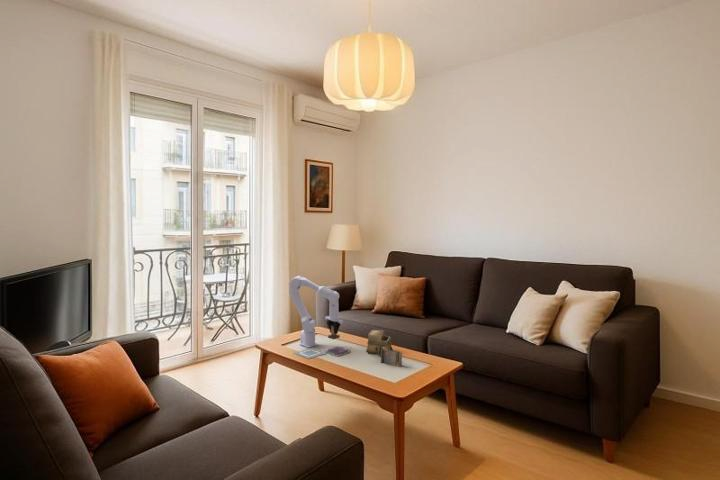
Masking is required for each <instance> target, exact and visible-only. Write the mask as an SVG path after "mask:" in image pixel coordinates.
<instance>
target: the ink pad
mask: <svg viewBox="0 0 720 480" xmlns="http://www.w3.org/2000/svg"><path fill="white" fill-rule="evenodd" d="M351 352H352V351H351V350H349V349H346V348H344V347H340V346H336V347H331V348H329V349H326V350H324V353H326V354H328V355H332V356H333V357H340V356H343V355H347V354H350V353H351Z"/></svg>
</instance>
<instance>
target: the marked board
mask: <svg viewBox="0 0 720 480" xmlns="http://www.w3.org/2000/svg"><path fill="white" fill-rule="evenodd" d="M293 354H294V355H297V356H300V357H302V358H305V359H307V360H310V359H314V358H316V357H319V356H324V355H326V354H327V353H325V351H321V350H318V349H316V348H312V347H308V348H306V349H303V350H299V351H295V352H294V353H293Z"/></svg>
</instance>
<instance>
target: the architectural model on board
mask: <svg viewBox="0 0 720 480" xmlns="http://www.w3.org/2000/svg"><path fill="white" fill-rule="evenodd" d="M382 348H383V349H382V350H381V356H380V363H384V364H386V365H392V366H397V367H401V366H402V365H403V361H402V358H403V352H402V351H398V350H395V349H394V350H388V349H386V348H385V347H382Z"/></svg>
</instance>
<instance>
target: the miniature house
mask: <svg viewBox="0 0 720 480" xmlns="http://www.w3.org/2000/svg"><path fill="white" fill-rule="evenodd" d="M366 344H367V347H366V350H365V352H366V353H367V354H368V355H376V356H378V357H381V350H382V349H383V348H382V347H385V348H386V349H388V350H393V347H392V339H391V336H390V335H389V336H388V335H386V334H385V330H383V329H371V331H370V332H368V335H367V343H366Z"/></svg>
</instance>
